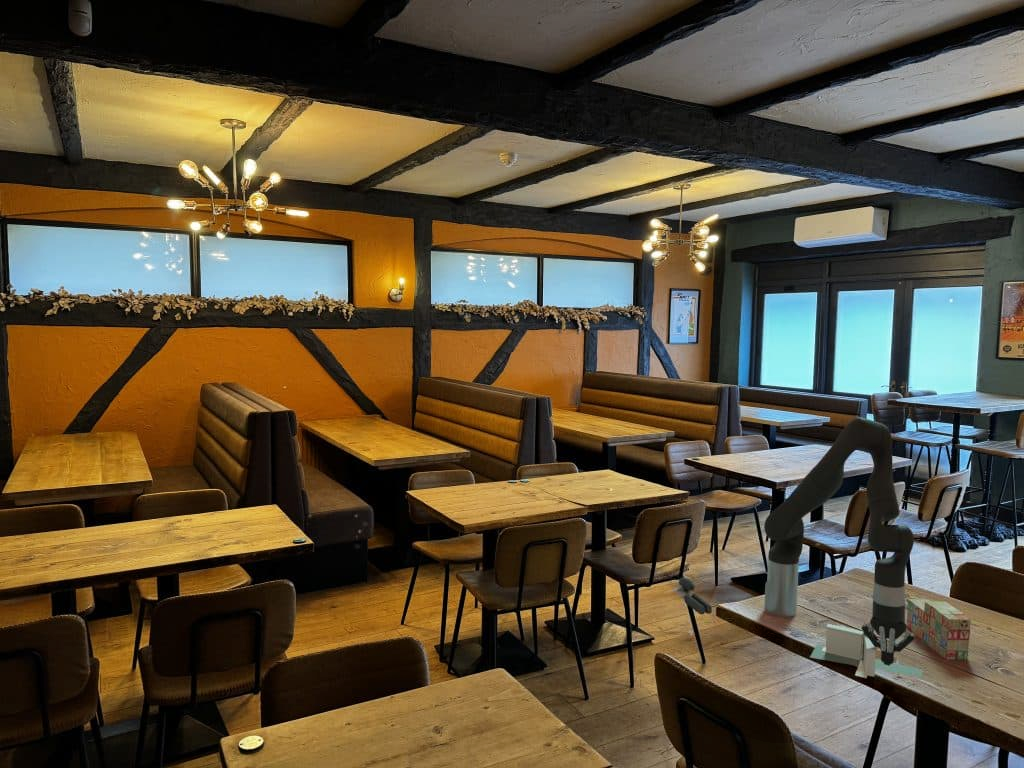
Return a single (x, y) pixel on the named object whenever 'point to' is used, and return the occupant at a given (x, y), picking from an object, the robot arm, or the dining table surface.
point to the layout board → (898, 668)
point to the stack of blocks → (940, 627)
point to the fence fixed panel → (844, 641)
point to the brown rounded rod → (863, 644)
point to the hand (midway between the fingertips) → (887, 664)
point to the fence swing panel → (869, 657)
